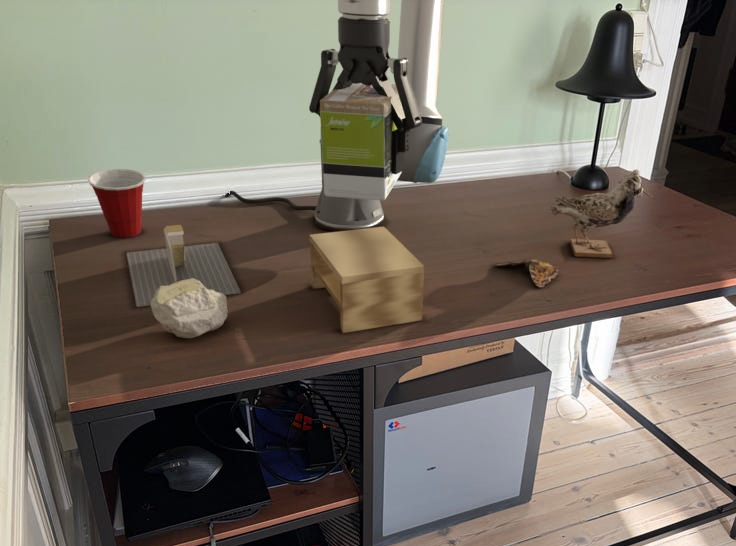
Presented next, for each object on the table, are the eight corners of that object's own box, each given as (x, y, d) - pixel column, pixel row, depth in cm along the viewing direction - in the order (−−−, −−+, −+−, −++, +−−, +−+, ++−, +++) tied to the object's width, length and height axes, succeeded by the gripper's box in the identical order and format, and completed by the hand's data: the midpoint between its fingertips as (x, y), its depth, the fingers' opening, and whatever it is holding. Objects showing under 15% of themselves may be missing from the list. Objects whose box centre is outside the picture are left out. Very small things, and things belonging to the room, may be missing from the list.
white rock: (243, 321, 122) (191, 316, 125) (236, 273, 119) (183, 269, 122) (202, 350, 112) (146, 343, 115) (194, 298, 108) (136, 292, 111)
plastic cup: (110, 246, 147) (99, 187, 140) (90, 230, 153) (79, 173, 147) (163, 235, 153) (154, 178, 147) (141, 220, 160) (132, 165, 154)
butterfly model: (539, 288, 138) (540, 273, 136) (494, 266, 146) (495, 252, 144) (570, 278, 143) (572, 263, 141) (524, 257, 151) (526, 243, 149)
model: (185, 260, 142) (180, 222, 139) (193, 282, 134) (188, 242, 130) (168, 262, 141) (162, 223, 137) (175, 284, 133) (169, 244, 129)
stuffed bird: (645, 256, 154) (662, 175, 146) (559, 263, 149) (570, 179, 140) (621, 238, 162) (635, 161, 154) (538, 245, 157) (548, 165, 148)
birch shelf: (343, 333, 120) (341, 277, 115) (311, 286, 135) (309, 234, 130) (422, 320, 125) (424, 266, 120) (383, 276, 140) (383, 226, 135)
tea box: (345, 169, 126) (343, 78, 119) (402, 174, 125) (405, 83, 118) (321, 196, 113) (318, 96, 106) (386, 202, 112) (387, 102, 105)
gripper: (281, 10, 108) (289, 159, 119) (425, 26, 99) (419, 184, 110) (310, 7, 114) (315, 149, 125) (449, 21, 105) (441, 172, 116)
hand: (364, 165), depth 118 cm, fingers closed on tea box, 11 cm apart
